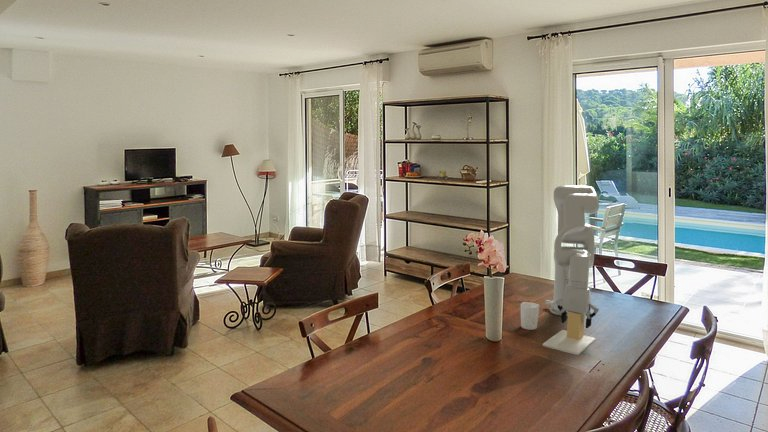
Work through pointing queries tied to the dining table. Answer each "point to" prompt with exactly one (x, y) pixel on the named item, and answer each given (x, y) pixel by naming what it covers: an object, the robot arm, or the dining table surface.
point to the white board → (568, 343)
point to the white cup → (529, 315)
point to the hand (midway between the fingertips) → (575, 324)
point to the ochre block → (575, 325)
